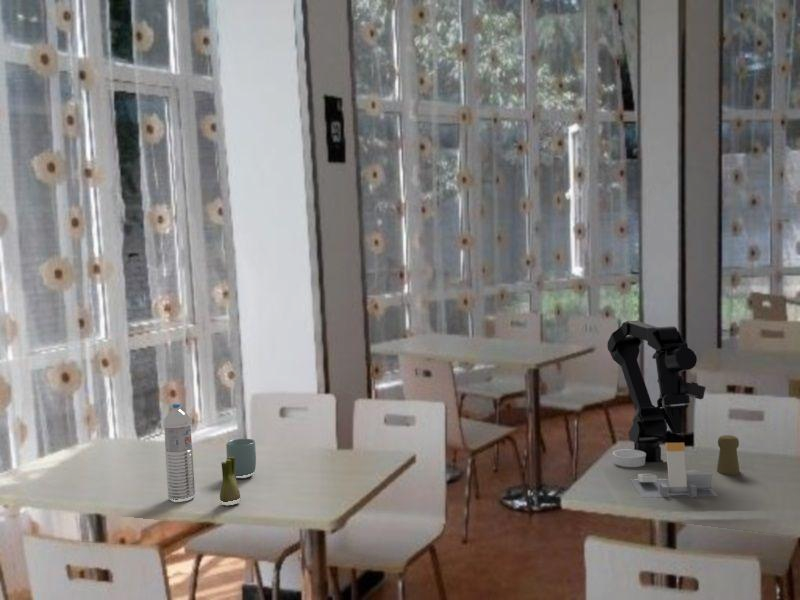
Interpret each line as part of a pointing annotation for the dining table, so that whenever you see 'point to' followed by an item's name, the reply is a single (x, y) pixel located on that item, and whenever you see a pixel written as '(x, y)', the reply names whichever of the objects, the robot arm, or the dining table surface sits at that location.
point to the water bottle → (179, 454)
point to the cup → (242, 455)
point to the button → (691, 471)
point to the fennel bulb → (229, 481)
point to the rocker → (647, 477)
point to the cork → (728, 455)
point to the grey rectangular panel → (699, 479)
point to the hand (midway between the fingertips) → (677, 433)
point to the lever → (676, 468)
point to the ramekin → (629, 458)
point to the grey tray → (662, 489)
